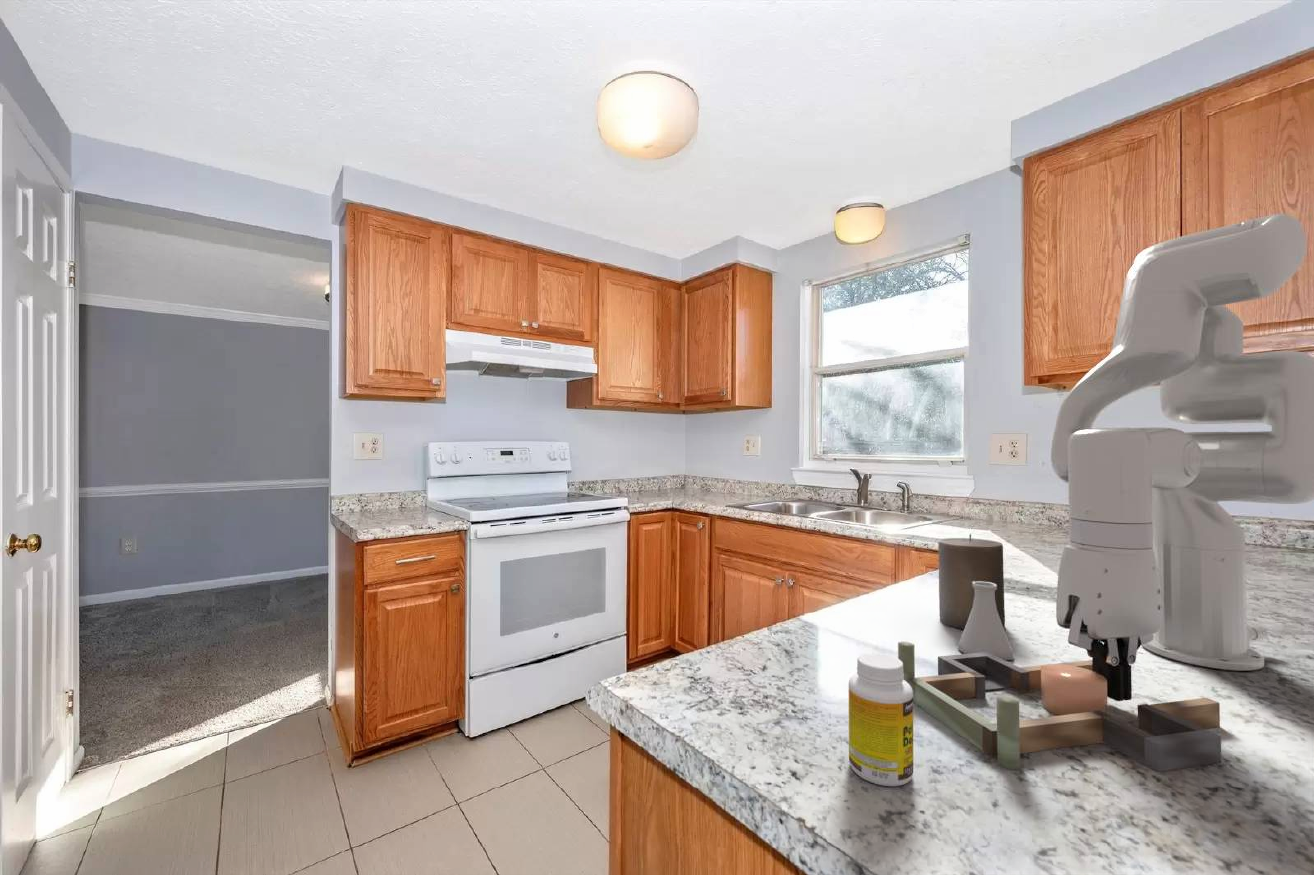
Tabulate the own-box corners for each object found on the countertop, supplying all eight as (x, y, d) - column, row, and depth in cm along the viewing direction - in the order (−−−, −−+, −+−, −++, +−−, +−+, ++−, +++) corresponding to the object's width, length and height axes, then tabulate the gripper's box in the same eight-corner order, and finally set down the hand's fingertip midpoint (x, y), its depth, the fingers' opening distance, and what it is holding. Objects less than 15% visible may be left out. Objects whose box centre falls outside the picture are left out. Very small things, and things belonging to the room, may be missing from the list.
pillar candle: (1018, 632, 89) (1016, 538, 89) (956, 632, 89) (955, 538, 89) (983, 615, 98) (982, 530, 99) (928, 614, 98) (926, 529, 99)
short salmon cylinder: (1071, 695, 66) (1070, 662, 67) (1122, 720, 61) (1121, 683, 61) (1028, 700, 65) (1028, 666, 65) (1076, 725, 59) (1075, 687, 59)
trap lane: (1067, 663, 76) (1066, 619, 76) (1283, 752, 54) (1282, 690, 54) (880, 681, 71) (880, 634, 71) (1036, 790, 48) (1035, 721, 48)
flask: (1024, 664, 76) (1023, 591, 76) (966, 660, 77) (965, 588, 78) (1002, 646, 83) (1001, 578, 83) (950, 642, 85) (949, 576, 85)
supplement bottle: (913, 796, 48) (912, 676, 48) (845, 780, 50) (844, 666, 50) (914, 763, 53) (913, 654, 53) (852, 749, 55) (851, 645, 55)
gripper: (1128, 528, 69) (1130, 676, 69) (1027, 532, 66) (1028, 687, 66) (1197, 538, 62) (1200, 704, 62) (1087, 543, 59) (1090, 718, 59)
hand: (1111, 695), depth 64 cm, fingers closed
